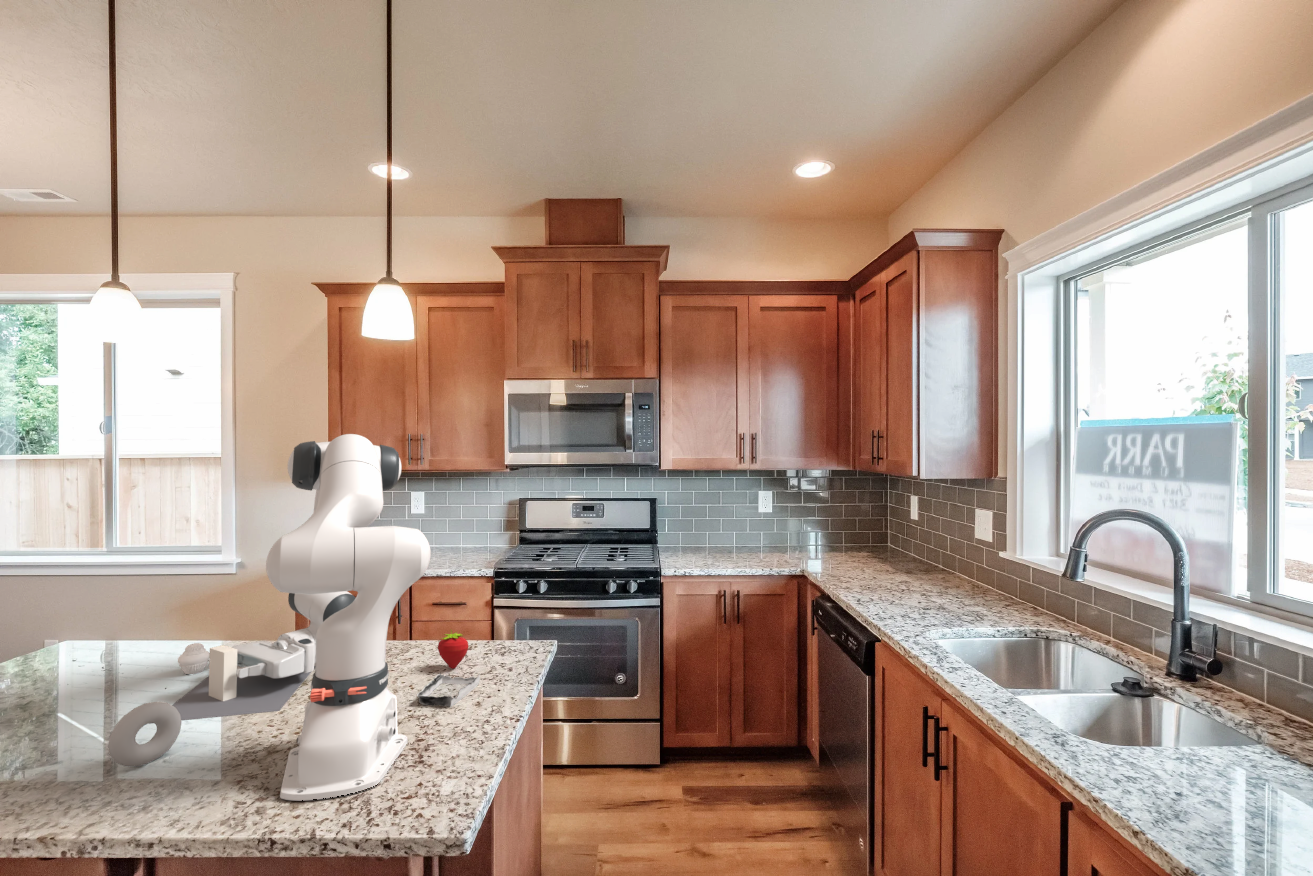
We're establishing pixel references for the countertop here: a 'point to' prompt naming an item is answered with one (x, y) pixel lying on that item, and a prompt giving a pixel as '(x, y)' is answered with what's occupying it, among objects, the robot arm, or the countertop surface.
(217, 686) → the card box
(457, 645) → the strawberry
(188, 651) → the muffin
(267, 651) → the robot arm
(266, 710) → the mat
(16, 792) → the countertop surface
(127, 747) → the donut
